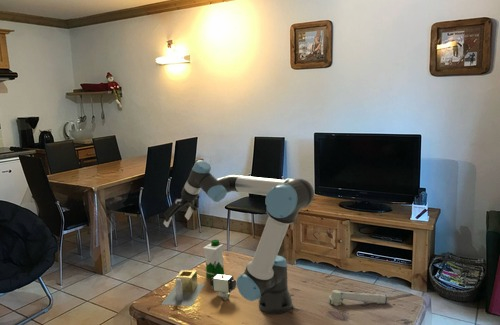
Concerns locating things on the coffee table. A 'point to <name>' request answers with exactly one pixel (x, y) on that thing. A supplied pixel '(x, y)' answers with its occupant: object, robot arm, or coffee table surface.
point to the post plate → (186, 297)
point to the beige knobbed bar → (356, 297)
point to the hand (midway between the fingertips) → (176, 221)
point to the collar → (188, 280)
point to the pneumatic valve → (223, 285)
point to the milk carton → (214, 259)
